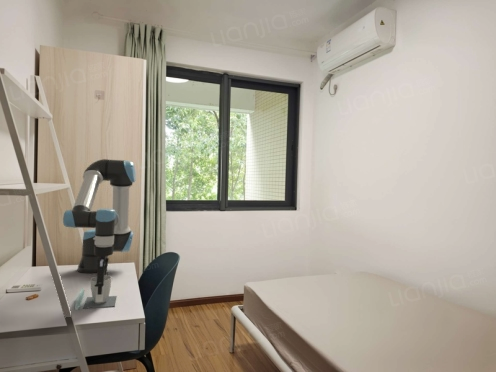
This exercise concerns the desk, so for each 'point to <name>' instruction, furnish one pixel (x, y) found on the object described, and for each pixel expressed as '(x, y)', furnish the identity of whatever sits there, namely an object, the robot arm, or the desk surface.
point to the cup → (106, 288)
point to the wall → (79, 299)
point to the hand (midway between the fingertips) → (100, 296)
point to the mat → (109, 303)
